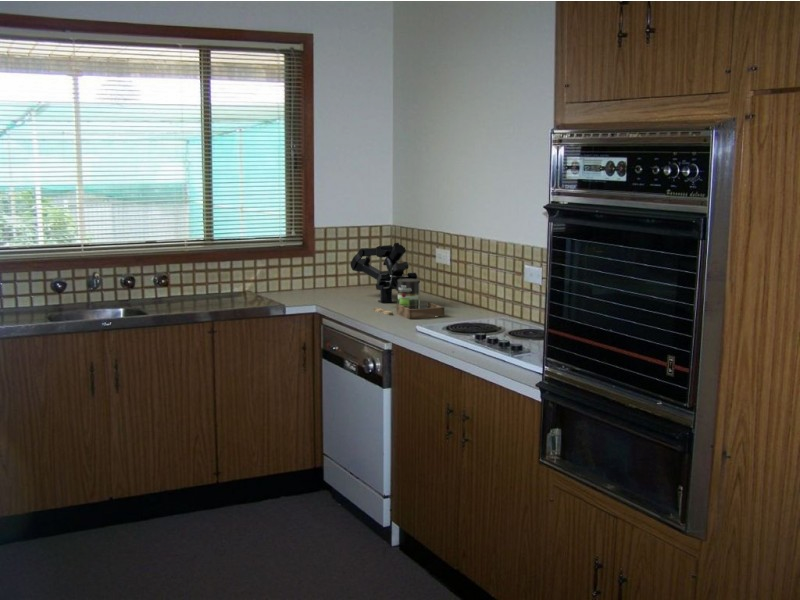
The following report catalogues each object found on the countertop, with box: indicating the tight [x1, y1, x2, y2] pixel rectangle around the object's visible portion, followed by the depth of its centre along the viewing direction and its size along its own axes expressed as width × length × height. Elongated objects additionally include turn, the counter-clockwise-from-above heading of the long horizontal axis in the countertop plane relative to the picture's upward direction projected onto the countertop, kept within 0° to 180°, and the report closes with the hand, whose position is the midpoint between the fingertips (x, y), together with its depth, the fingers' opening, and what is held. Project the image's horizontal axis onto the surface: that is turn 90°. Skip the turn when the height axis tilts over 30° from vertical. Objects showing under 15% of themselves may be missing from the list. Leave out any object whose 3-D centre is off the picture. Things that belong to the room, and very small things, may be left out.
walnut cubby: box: [396, 301, 445, 320], centre depth 405 cm, size 15×16×4 cm
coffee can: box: [397, 278, 421, 309], centre depth 416 cm, size 10×10×14 cm
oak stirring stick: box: [372, 307, 394, 316], centre depth 412 cm, size 14×2×2 cm, turn 31°
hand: (401, 293), depth 424 cm, fingers closed
